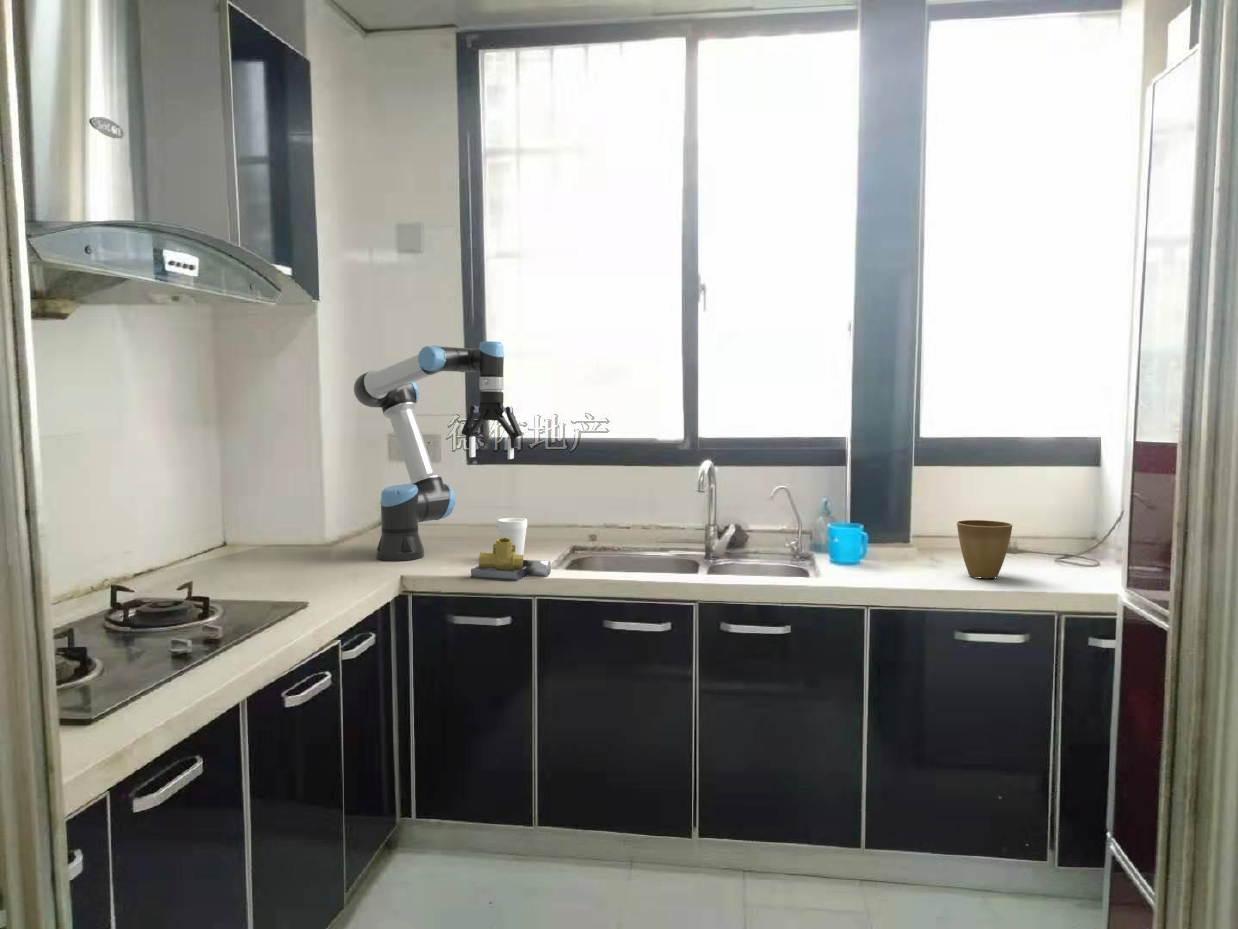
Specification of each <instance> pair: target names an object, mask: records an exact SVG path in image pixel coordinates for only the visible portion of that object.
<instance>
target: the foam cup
mask: <svg viewBox="0 0 1238 929" xmlns="http://www.w3.org/2000/svg"><path fill="white" fill-rule="evenodd" d="M527 528H528V519H527V518H523V517H505V518H504V517H503V518H498V519H497V529H498V534H499V537H498V538H500V537H507V538H510V539H512V545H515V555H523V556H524V552H525V543H526V534H527Z"/></svg>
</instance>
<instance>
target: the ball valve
mask: <svg viewBox="0 0 1238 929" xmlns="http://www.w3.org/2000/svg"><path fill="white" fill-rule="evenodd" d="M523 560H524V554H523V555H515V545H512V539H510V538H507V537H497V538H496V541H495V543H493V544H492V552H483V551H482V552H479V560H478V566H479V567H482V568H496V569H497V570H506V571H514V570H520V569H522V568H523Z"/></svg>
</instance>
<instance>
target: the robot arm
mask: <svg viewBox="0 0 1238 929" xmlns="http://www.w3.org/2000/svg"><path fill="white" fill-rule="evenodd" d="M504 352H505V351H504V345H503V343H502V342H501V341H493V340H492V341H488V340H487V341H480V342H479V347H477V348H475V347H474V348H470V347H469V348H465V347H449V346H438V345H428V346H424V347H422V348H421V350H420V351H419V352H418V354H416V355H414V356H411V357H409V358H406V359H404V360H401V361H399V362H396V363H394V364H392V365H390V366H387V367H385V368H382V369H379V370H376V369H374V370H370V371H367V372H365V373H363V374H361V375H359V376H358V377H357V378H356V379H355V382H354V384H353V393H354V396H355V398H356V400H357V401H358V402H359V403H360V404H362V405H364V406H366V407H369V408H381V410H382V414H383V416H384V417H385V418H388V419H389V420H390V423H391V426H392V429H393V432H394V435H395V438H396V440H397V444H398V447H399V450H400V454H401V457H402V459H403V462H404V465H405V467H406V471H407V474H408V476H409V479H410V483H403V484H395V485H392V486H388V487H385V488H384V489H383V490H382V491H381V493H380V517H381V518H380V520H381V525H380V526H381V535H380V538H379V542H378V544H377V548H376V559H377V560H380V561H386V562H387V561H388V562H389V561H390V562H399V561H400V562H401V561H402V562H403V561H413V560H417V559H418V560H419V559H421V558H423V557H425V548H424V545H423V542H422V540H421V537H420V534H419V523H423V522H429V521H439V520H441V519H445V518H448V517H449V516H450V515H451V514H452V513H453V511H454V508H455V505H456V495H455V491H454V489H453V488H452V486H450V485H449V484H446V483H444V481H443V478H442V476H441V475H439V474H437V473H436V472H435V469H434V465H433V463H432V460H431V456H430V454H429V451H428V448H427V445H426V443H425V439H424V436H423V434H422V430H421V428H420V425H419V421H418V419H417V416H416V412H415V410H416V409H417V407H418V406H417V403H418V401H419V399H420V398H419V396H418V395H420V391H419V387H418V384H417V381H419V380H422V379H425V378H427V377H430V376H433V375H435V374H438V373H440V372H458V373H477V372H478V373H479V390H480V392H479V406H477V405H470V408H469V409H470V410H469V414H468V416H467V419H466V420H465V422H464V425H463V427H462V429H461V433H460V434H461V435H465V436H466V446H467V448H468V447H469V448H468V451H469V452H468V454H469V455H468V456H469V457H468V458H476V436H475V434H476V432H477V431H478V430H479V429H480V427H481V426H482V425H483V423H484V422H485V421H494V422H495V421H497V422H498V423H499V424H500V425H501V427H502V428H503V429H504V431H505V432H506V434H508V436H509V438H507V460H512V459H514V458H515V453H514V452H515V449H516V448H517V439H518V438H519V437H521V436H523V433H522V430H521V428H520V426H519V423H518V421H517V419H516V417H515V414H514V409H513V406H506V407H505V406H504V392H503V391H504V389H505V388H504V387H505V386H504V361H505V360H504V358H505V354H504ZM502 390H503V391H502ZM478 413H480V415H479V416H478V417H477V419H476V416H477V414H478ZM504 413H505V415H506V417H507V419H508V421H507V420H506V417H505V416H504V415H503V414H504ZM475 419H476V421H475ZM474 421H475V422H474ZM508 422H509V423H508Z"/></svg>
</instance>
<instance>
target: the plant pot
mask: <svg viewBox="0 0 1238 929" xmlns="http://www.w3.org/2000/svg"><path fill="white" fill-rule="evenodd" d="M956 527H957V533H958V535H957V536H958V540H959V545H960V550H961V553H962V557H963V562H964V564H965V567H966V570H967V573H968V576H969V575H970V576H972V577H971V578H973V577H981V578H995V577H997V578H998V576H999V574H1000V572H1001V569H1002V567H1003V564H1004V562H1005V560H1006V556H1007V552H1008V549H1009V544H1010V541H1011V535H1012V530H1013V523H1010V522H1005V521H998V520H997V521H996V520H980V519H966V520H965V519H963V520H958V521H956ZM970 576H969V577H970Z"/></svg>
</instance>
